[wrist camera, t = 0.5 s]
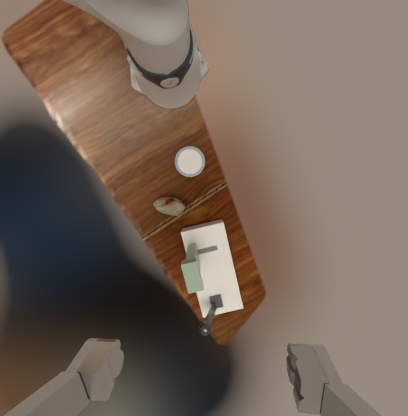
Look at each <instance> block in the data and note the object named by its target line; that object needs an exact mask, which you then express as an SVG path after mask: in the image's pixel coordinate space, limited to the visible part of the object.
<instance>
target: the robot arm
mask: <svg viewBox="0 0 408 416" xmlns="http://www.w3.org/2000/svg"><path fill="white" fill-rule="evenodd" d="M61 1H64V2H66V3H69V4H71V5H73V6H75V7H77V8H79V9H81V10H83V11H85V12H87V13H88V14H90V15H92V16H93V17H95V18H97V19H98V20H100V21H101V22H103V23H104V24H106V25H107V26H109V27H110V28H112V29H113V30H114V31H115V32H116V33H117V34H118V35H119V36H120V37H121V39H122V40H123V42H124V45H125V48H126V49H127V50H128V53H129V55H128V56H127V60H128V63H130V75H131V85H132V88H133V89H134V90H135V91H136V92H138V93H141V94H144V95H145V96H146V97H148V98H149V99H150V100H151V101H152V102H153V103H154V104H156V105H158V106H160V107H163V108H168V109H174V108H179V107H182V106H184V105H185V104H187V103H188V102H189V101H191V100H192V98H193V97H194V96H195V94H196V92H197V90H198V87H199V84H200V82H201V80H202V79H203V78H204V77H205V76H206V74H207V73H208V65H207V62H206V60H205V58H204V55H203V53H202V50H201V48H200V46H199V43H198V41H197V38H196V36H195V34H194V31H193V29H192V27H191V24H190V22H189V12H188V3H187V0H61ZM201 63H203V65H201ZM120 346H121V344H120V340H112V339H94V338H90V339H88V340H87V341H86V342H85V344H84V345H83V346H82V348H81V349H80V351H79V352H78V354H77V355H76V357H75V358H74V360H73V361H72V363H71V364H70V365H69V367H68V369H67V370H66V372H61V373H60V374H59V375H57V376H56V377H55V378H53V379H52V380H51V381H49V382H48V383H47V384H45V385H44V386H43V387H41V388H40V389H39V390H37V391H36V392H35V393H33V394H32V395H31V396H30V397H28V398H27V399H25V400H24V401H23V402H22V403H20V404H19V405H17V406H16V407H15V408H13V409H12V410H11V411H9V412H8V413H7V414H5V415H4V416H77V415H78V414H79V412H80V411H81V410H82V409H83V408H84V407H85V406H86V405H87V404H88V403H89V401H107V400H108V398H109V396H110V394H111V391H112V389H113V387H114V379H115V378H116V377H117V376H118V375H119V373H120V371H121V368H122V365H123V361H124V359H123V357H124V355H123V352H122V351H121V350H120V349H119V348H120ZM287 351H288V356H287V360H286V361H287V371H288V376H289V380H290V382H291V383H292V385H293V386H294V390H293V395H294V398H295V402H296V405H297V408H298V412H300V413H310V414H321V415H320V416H381V415H380V414H379V413H378V412H377V411H376V410H374V409H373V408H372V407H371V406H370V405H369V404H368V403H367V402H366V401H365V400H364V399H362V398H361V397H360V396H359V395H358V394H357V393H356V392H355V391H354V390H353V389H351V388H350V387H349V386H348V385H345V384H343V383H342V381H341V378H340V377H339V374H338V372H337V370H336V368H335V366H334V364H333V362H332V360H331V358H330V356H329V354H328V352H327V350H326V348H325V347H324V346H323V345H317V344H313V345H312V344H288V346H287Z"/></svg>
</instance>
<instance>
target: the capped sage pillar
mask: <svg viewBox="0 0 408 416" xmlns="http://www.w3.org/2000/svg"><path fill="white" fill-rule="evenodd" d="M181 267H182V271H183V275H184V278H185V282H186V286H187V289H188V293H194V292H198V291H202V290H204V285H203V281H202V277H201V273H200V258H199V254H198V250H197V246H196V243H194V244H190V245H188V247H187V253H186V259H185V260H183V261H182V262H181Z"/></svg>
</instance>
